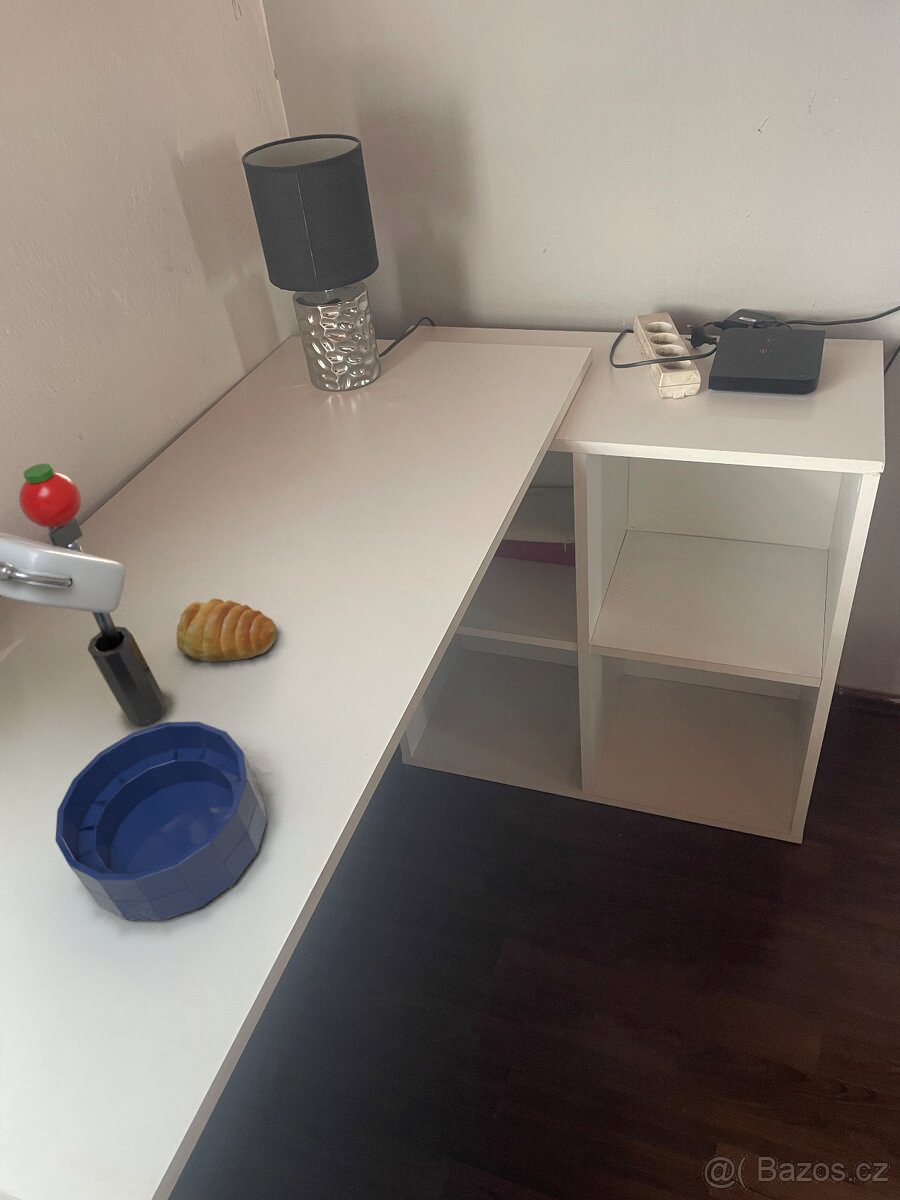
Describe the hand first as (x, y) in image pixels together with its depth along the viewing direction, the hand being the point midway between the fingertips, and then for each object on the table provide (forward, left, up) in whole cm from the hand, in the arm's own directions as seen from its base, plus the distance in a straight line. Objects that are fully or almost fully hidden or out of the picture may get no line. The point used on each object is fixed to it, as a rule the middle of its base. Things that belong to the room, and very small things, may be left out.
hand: (81, 571), depth 69 cm
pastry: (+9, +3, -16) cm, 19 cm away
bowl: (-5, -15, -16) cm, 23 cm away
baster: (-1, 0, -10) cm, 10 cm away
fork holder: (-1, 0, -16) cm, 16 cm away
